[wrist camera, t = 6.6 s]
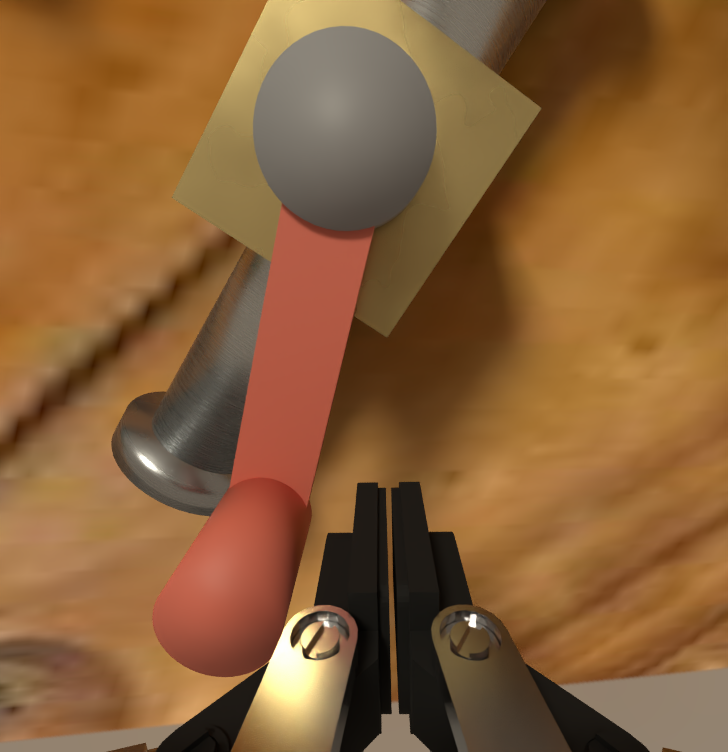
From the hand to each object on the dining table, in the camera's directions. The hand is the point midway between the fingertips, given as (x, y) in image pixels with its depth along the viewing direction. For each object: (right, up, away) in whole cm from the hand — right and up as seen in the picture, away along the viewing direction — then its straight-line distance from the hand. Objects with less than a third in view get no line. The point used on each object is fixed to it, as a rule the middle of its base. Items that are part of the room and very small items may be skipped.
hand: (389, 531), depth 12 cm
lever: (-2, +5, 0) cm, 6 cm away
